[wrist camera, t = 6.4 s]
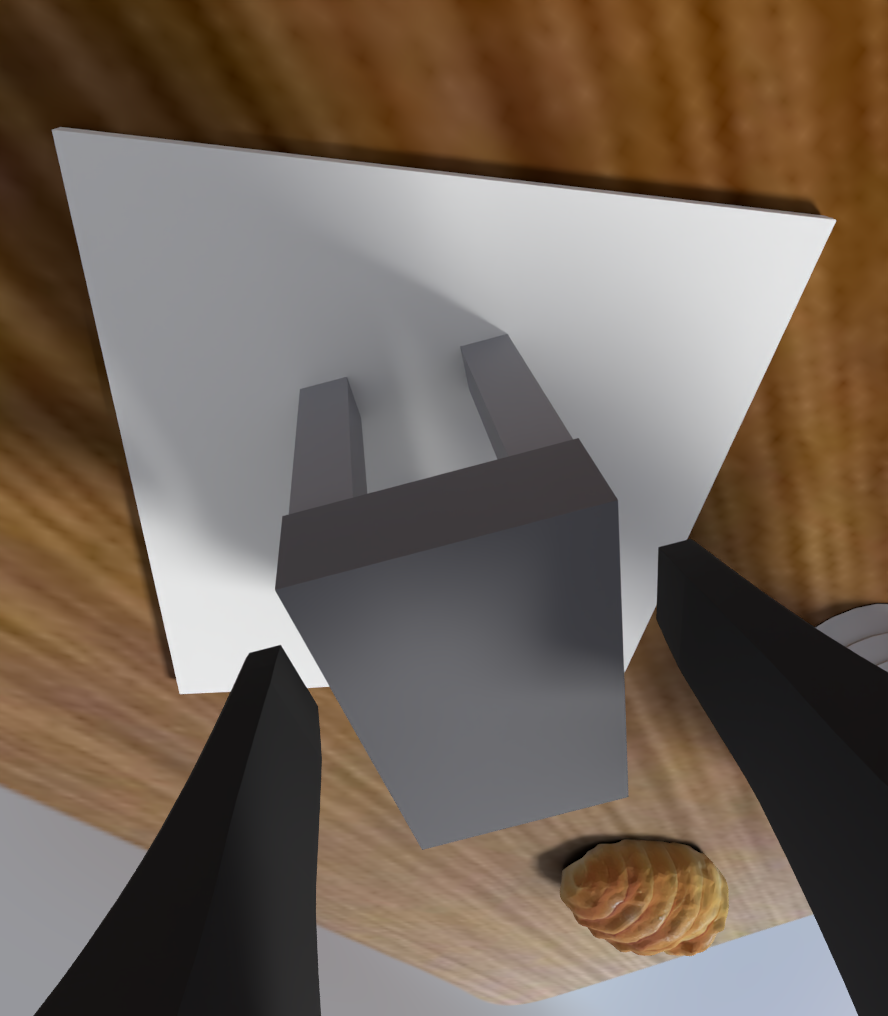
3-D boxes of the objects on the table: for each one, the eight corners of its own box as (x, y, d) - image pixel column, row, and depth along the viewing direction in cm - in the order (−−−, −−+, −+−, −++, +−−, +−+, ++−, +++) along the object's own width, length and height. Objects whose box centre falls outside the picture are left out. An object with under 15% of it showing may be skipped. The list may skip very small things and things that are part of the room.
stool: (546, 590, 17) (628, 796, 12) (396, 629, 17) (422, 849, 12) (506, 324, 12) (617, 499, 7) (296, 380, 12) (274, 589, 7)
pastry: (520, 876, 31) (542, 965, 28) (616, 814, 28) (651, 904, 25) (633, 898, 35) (662, 977, 32) (725, 846, 33) (766, 926, 30)
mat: (823, 215, 12) (836, 220, 12) (620, 662, 20) (625, 672, 20) (60, 126, 9) (51, 129, 9) (182, 682, 18) (179, 694, 17)
